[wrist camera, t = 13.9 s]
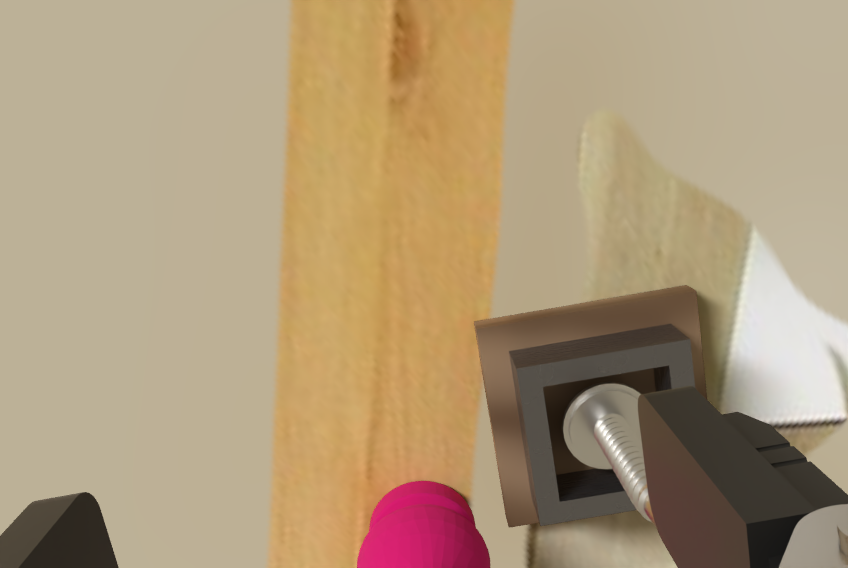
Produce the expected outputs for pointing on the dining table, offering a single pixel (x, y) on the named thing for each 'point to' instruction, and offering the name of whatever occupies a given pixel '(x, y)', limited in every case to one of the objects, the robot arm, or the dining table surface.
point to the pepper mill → (423, 530)
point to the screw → (610, 436)
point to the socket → (578, 362)
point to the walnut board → (561, 327)
